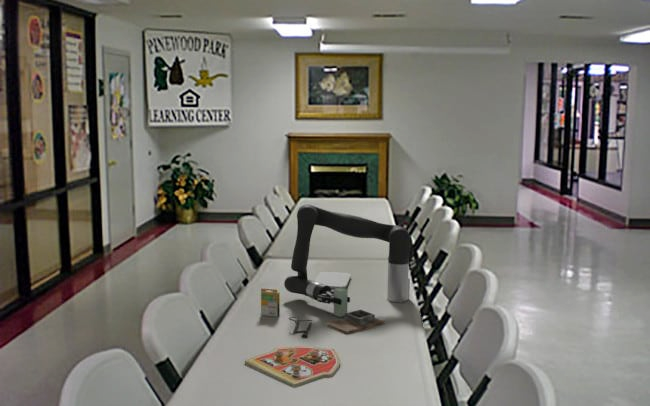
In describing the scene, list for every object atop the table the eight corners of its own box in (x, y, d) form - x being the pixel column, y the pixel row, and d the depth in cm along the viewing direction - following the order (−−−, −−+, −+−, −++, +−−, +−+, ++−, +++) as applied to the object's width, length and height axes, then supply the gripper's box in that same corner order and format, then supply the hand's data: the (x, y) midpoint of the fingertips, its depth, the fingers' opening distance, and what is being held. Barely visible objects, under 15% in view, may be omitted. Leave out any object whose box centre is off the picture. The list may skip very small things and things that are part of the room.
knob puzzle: (241, 364, 226) (241, 351, 226) (304, 342, 247) (304, 331, 246) (298, 390, 206) (298, 377, 205) (363, 365, 226) (363, 352, 225)
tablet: (351, 277, 339) (351, 273, 339) (345, 291, 314) (345, 286, 313) (320, 276, 341) (320, 271, 341) (311, 289, 316) (311, 285, 316)
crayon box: (279, 314, 277) (279, 288, 275) (277, 317, 274) (277, 289, 272) (263, 313, 279) (263, 286, 277) (260, 315, 276) (260, 288, 274)
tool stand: (364, 316, 276) (364, 306, 276) (384, 323, 267) (384, 313, 267) (327, 325, 264) (327, 316, 263) (347, 334, 255) (347, 324, 254)
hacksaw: (306, 339, 250) (306, 335, 249) (279, 338, 251) (279, 334, 250) (314, 319, 273) (314, 315, 273) (289, 317, 274) (289, 314, 274)
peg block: (341, 312, 279) (341, 287, 277) (347, 315, 276) (347, 289, 274) (333, 314, 276) (333, 288, 274) (340, 316, 273) (340, 291, 271)
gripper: (305, 286, 281) (332, 295, 268) (331, 280, 290) (358, 289, 277) (305, 303, 282) (331, 313, 269) (331, 297, 291) (357, 306, 278)
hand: (345, 301), depth 273 cm, fingers closed on peg block, 4 cm apart
